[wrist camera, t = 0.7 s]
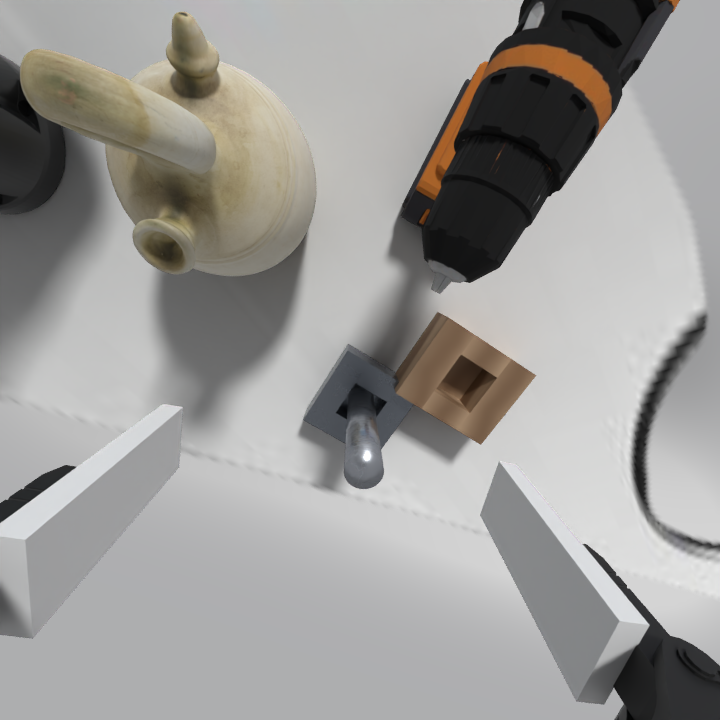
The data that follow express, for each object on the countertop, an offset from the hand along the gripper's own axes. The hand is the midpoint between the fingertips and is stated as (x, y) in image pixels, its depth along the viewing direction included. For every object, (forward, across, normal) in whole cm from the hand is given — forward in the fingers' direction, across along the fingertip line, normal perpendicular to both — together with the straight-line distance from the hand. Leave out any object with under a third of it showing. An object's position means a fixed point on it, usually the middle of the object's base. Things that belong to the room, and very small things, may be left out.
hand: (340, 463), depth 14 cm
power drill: (+28, +7, +17) cm, 34 cm away
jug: (+28, -13, +12) cm, 34 cm away
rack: (+28, +14, -2) cm, 31 cm away
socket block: (+28, +3, -8) cm, 29 cm away
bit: (+27, +3, -8) cm, 29 cm away
